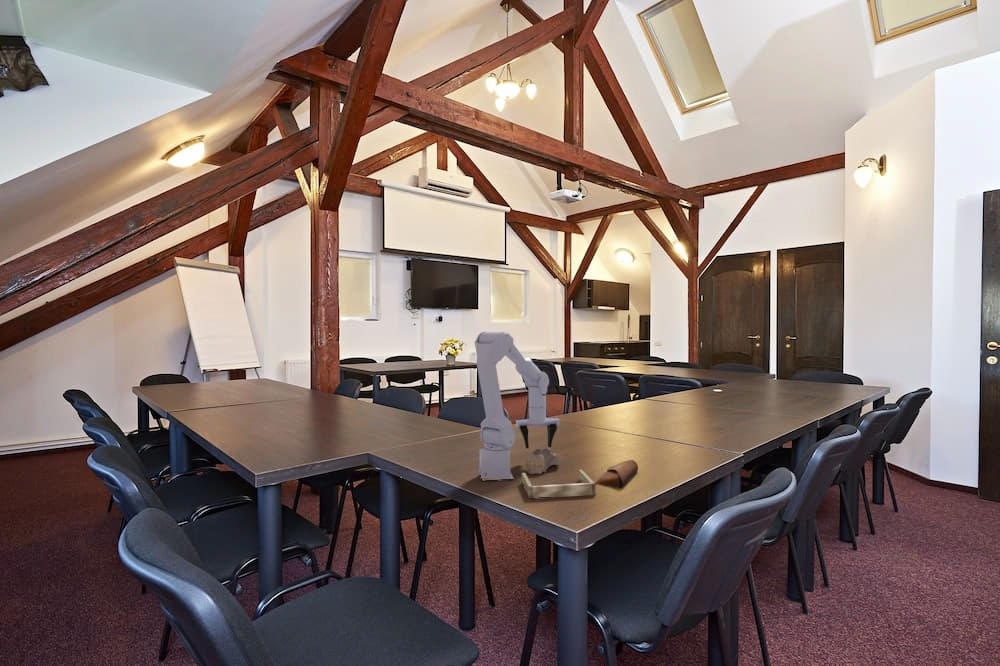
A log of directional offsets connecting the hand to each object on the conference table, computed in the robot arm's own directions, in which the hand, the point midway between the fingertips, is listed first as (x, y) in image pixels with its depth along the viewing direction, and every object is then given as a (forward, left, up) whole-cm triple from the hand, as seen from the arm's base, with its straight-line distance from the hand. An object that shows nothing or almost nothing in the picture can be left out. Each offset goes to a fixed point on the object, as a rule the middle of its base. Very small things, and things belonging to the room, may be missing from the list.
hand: (538, 447), depth 163 cm
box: (0, -28, -5) cm, 28 cm away
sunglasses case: (+20, -21, -6) cm, 29 cm away
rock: (0, -9, -5) cm, 11 cm away
